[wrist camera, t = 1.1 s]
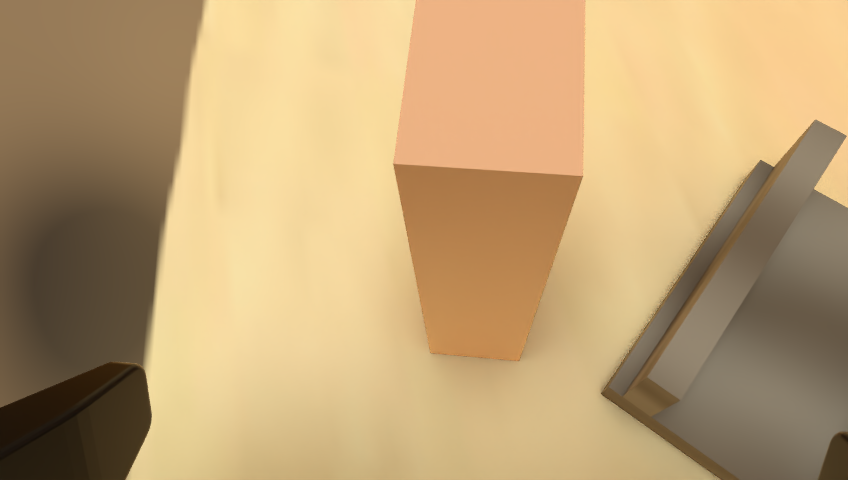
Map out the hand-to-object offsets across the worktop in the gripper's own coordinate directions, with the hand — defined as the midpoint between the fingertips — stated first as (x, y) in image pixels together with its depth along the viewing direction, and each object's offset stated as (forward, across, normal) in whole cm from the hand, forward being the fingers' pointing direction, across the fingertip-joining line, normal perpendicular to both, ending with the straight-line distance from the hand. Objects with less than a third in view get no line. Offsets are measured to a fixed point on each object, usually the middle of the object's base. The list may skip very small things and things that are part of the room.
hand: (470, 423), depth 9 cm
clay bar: (+14, 0, +5) cm, 15 cm away
